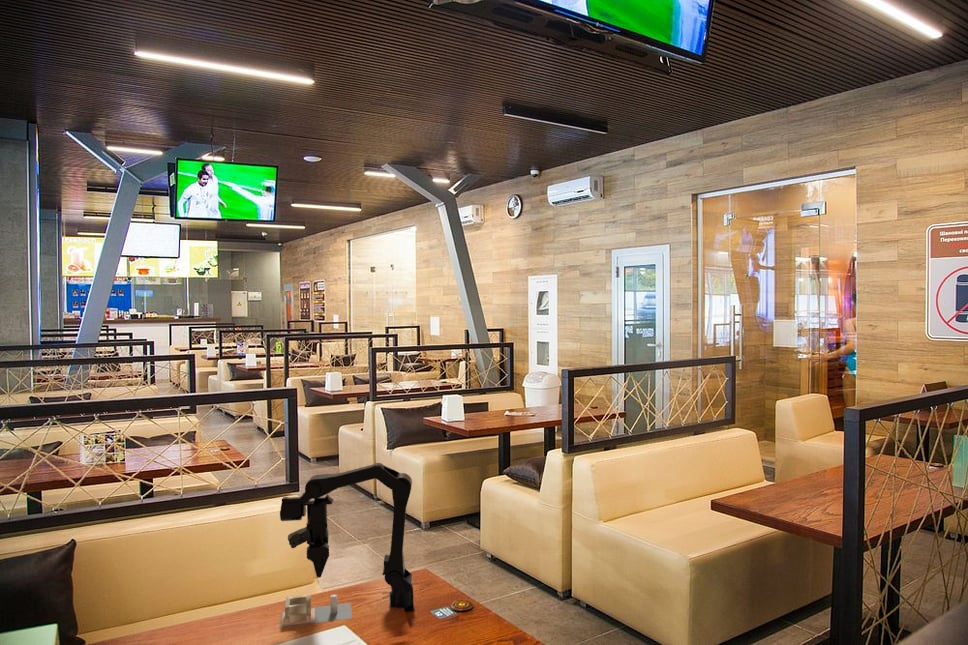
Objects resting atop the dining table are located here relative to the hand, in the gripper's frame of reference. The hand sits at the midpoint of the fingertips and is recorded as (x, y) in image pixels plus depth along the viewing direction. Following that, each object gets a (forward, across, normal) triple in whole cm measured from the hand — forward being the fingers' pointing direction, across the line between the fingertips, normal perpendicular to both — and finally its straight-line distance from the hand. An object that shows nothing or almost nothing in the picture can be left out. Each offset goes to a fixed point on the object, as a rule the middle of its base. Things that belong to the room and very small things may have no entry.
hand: (318, 571), depth 197 cm
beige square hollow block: (+11, +4, -6) cm, 13 cm away
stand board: (+12, +4, -1) cm, 13 cm away
